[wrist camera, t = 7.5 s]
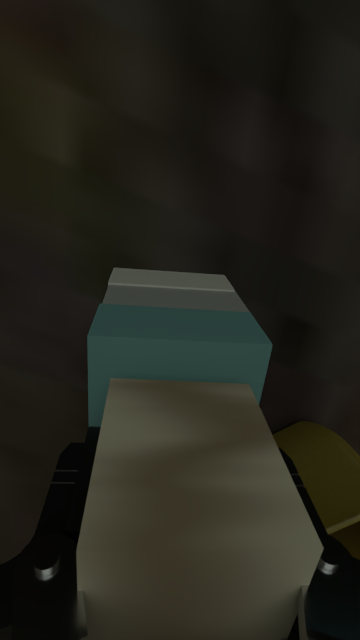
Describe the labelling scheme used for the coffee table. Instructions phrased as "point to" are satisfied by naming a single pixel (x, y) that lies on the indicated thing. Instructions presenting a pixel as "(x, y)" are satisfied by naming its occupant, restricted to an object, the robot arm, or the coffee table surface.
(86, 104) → the coffee table surface
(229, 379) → the slab top
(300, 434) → the flower pot
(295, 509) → the birch block
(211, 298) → the slab middle
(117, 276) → the slab bottom
